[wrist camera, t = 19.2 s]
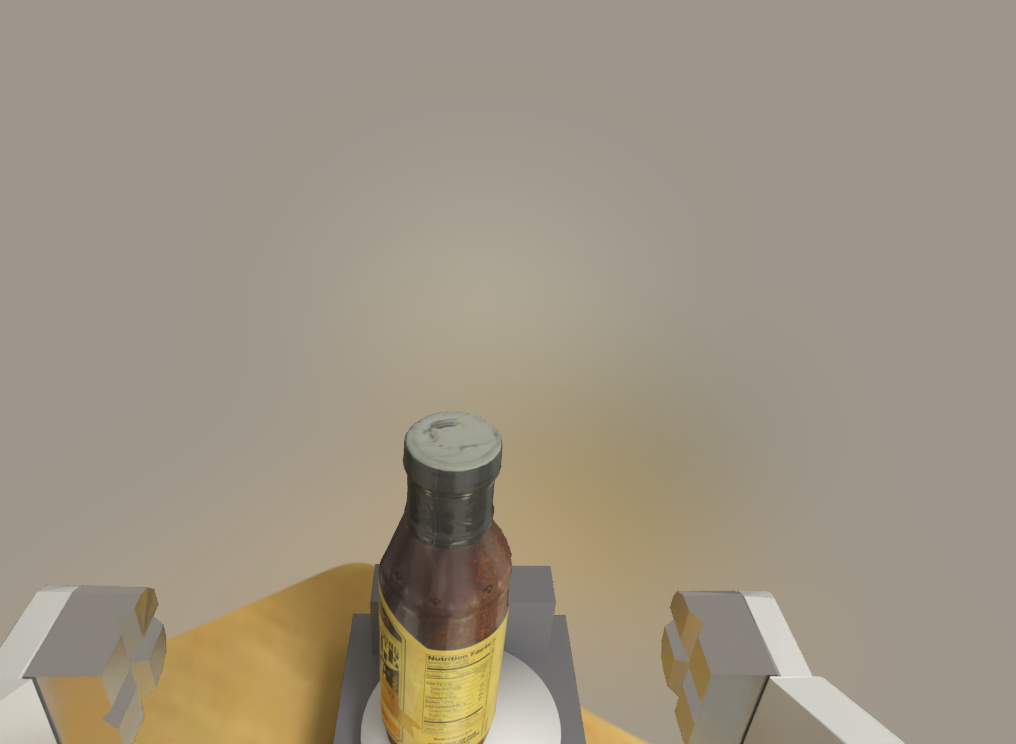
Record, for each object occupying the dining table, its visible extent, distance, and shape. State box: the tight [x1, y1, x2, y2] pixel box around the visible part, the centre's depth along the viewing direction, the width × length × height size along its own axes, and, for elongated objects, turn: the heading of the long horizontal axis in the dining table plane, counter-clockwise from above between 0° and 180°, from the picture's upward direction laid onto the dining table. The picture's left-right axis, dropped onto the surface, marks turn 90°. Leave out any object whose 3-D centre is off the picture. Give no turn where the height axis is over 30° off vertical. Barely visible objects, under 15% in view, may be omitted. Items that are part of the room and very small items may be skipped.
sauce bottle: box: [378, 412, 512, 744], centre depth 35 cm, size 7×6×20 cm
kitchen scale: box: [333, 564, 586, 744], centre depth 42 cm, size 14×14×8 cm
